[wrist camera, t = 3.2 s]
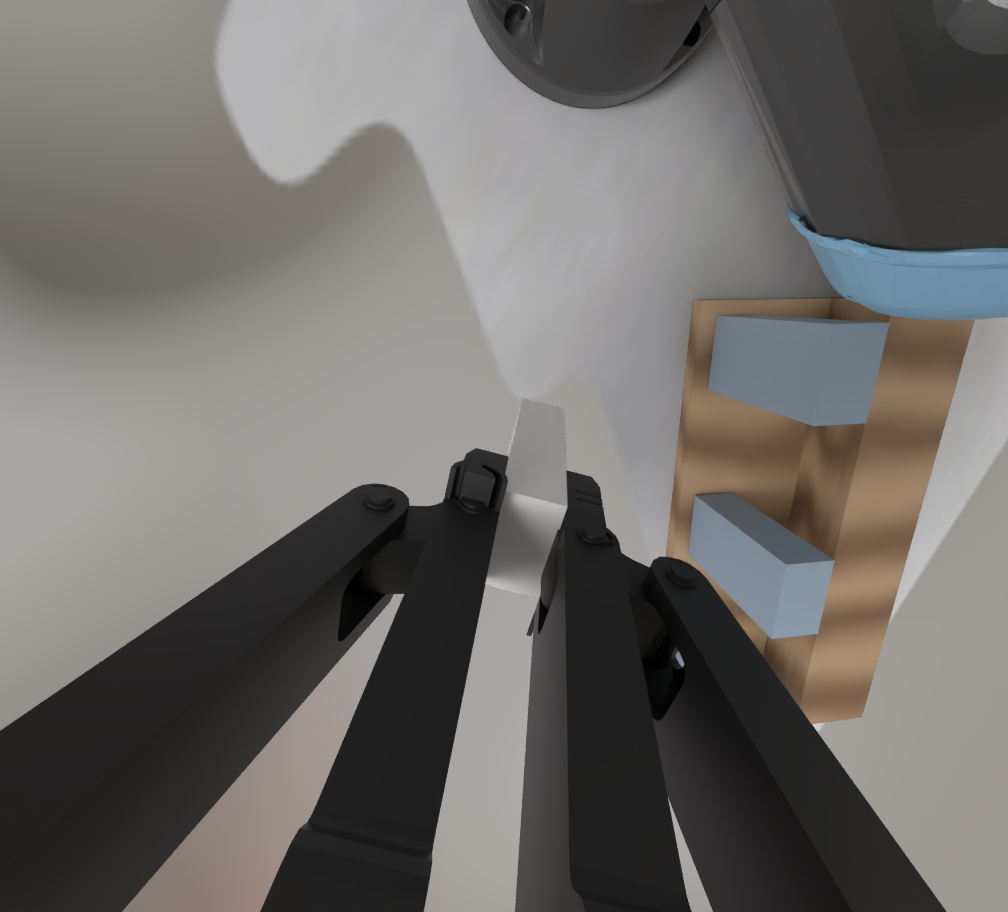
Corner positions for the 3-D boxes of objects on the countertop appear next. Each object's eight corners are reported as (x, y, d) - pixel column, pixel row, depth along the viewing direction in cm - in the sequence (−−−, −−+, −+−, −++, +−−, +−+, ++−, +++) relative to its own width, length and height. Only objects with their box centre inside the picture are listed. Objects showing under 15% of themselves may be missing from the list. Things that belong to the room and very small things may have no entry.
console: (693, 300, 33) (746, 301, 28) (902, 297, 35) (992, 297, 30) (652, 684, 44) (685, 741, 38) (816, 664, 46) (870, 716, 40)
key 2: (716, 316, 32) (833, 323, 23) (758, 315, 33) (889, 322, 23) (707, 390, 34) (813, 426, 25) (747, 388, 34) (866, 423, 25)
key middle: (695, 495, 36) (786, 564, 27) (732, 492, 37) (834, 560, 27) (687, 554, 38) (771, 639, 29) (723, 551, 38) (817, 633, 29)
